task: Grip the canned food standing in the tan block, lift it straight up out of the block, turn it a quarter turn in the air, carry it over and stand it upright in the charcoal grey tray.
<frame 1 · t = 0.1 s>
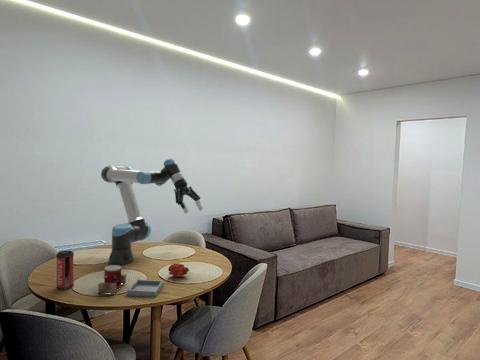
hand: (194, 211, 184), 36 cm above the table, tool tilted 35°, fingers open, 13 cm apart
speaker: (65, 287, 156), on the table
tray: (146, 290, 156), on the table
canned food: (112, 289, 156), on the table
dragon fruit: (178, 276, 175), on the table
tan block: (112, 288, 156), on the table
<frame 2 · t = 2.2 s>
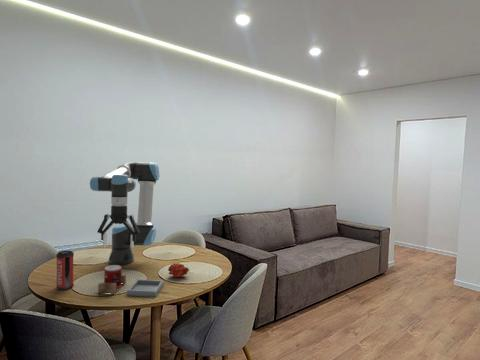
hand: (118, 247, 155), 21 cm above the table, tool pointing down, fingers open, 13 cm apart
nothing on the table moved.
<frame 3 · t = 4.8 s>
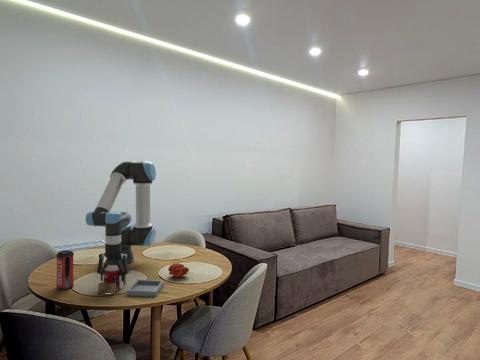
hand: (112, 287, 156), 1 cm above the table, tool pointing down, fingers closed on canned food, 8 cm apart
canned food: (112, 289, 156), on the table, touching gripper
everything else where it was.
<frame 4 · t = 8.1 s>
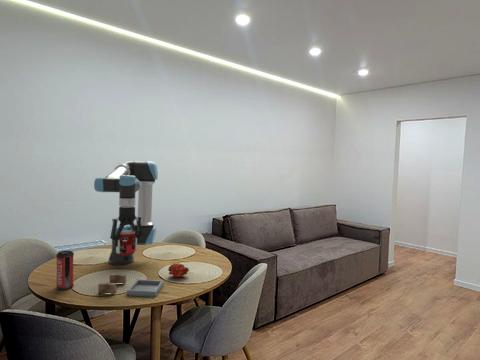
hand: (126, 251, 154), 20 cm above the table, tool pointing down, fingers closed on canned food, 8 cm apart
canned food: (126, 253, 154), point 19 cm above the table, touching gripper
everything else where it was.
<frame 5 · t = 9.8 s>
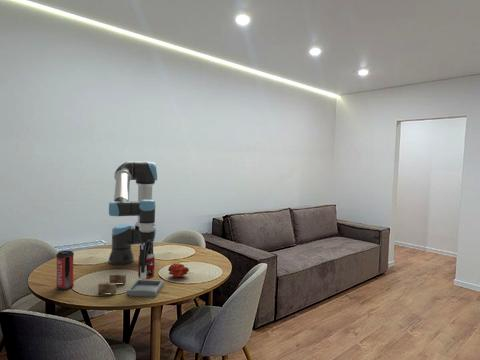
hand: (146, 275, 155), 8 cm above the table, tool pointing down, fingers closed on canned food, 8 cm apart
canned food: (146, 277, 155), point 7 cm above the table, touching gripper
everything else where it was.
when the fingers open (3 cm above the table, at t = 11.3 s): canned food drops 1 cm, resting on tray.
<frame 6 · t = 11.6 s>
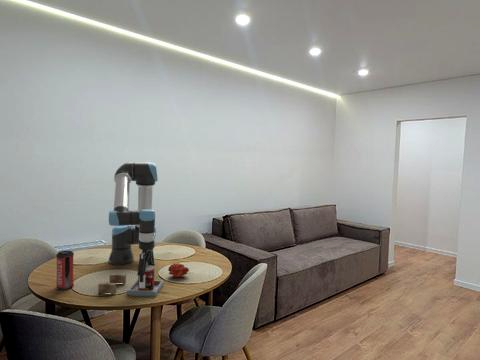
hand: (146, 283, 155), 4 cm above the table, tool pointing down, fingers open, 11 cm apart
canned food: (146, 289, 156), resting on tray
everything else where it was.
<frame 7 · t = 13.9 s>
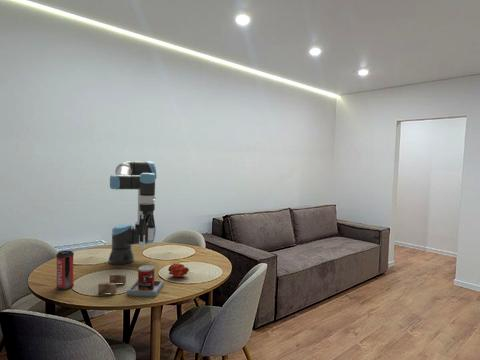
hand: (146, 243, 159), 22 cm above the table, tool pointing down, fingers open, 13 cm apart
nothing on the table moved.
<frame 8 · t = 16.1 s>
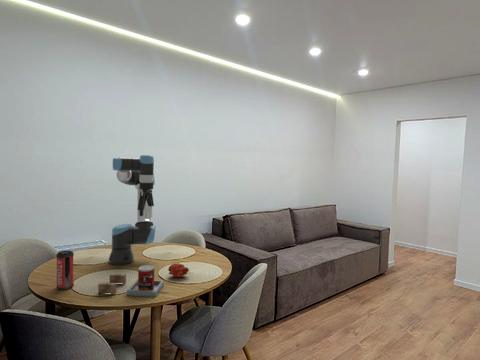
hand: (145, 219, 176), 32 cm above the table, tool pointing down, fingers open, 13 cm apart
nothing on the table moved.
at the end: canned food inside the target area on the tray (0.1 cm from its centre), point 0.4 cm above the tray's base; canned food tilted 0°; the gripper is holding nothing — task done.
